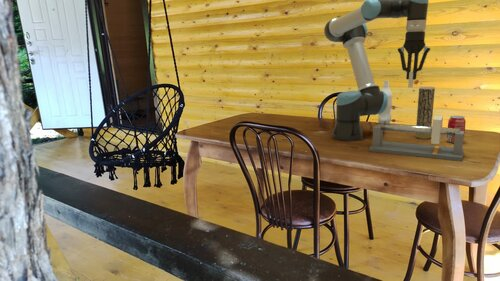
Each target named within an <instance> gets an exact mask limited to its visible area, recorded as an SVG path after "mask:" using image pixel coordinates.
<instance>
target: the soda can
mask: <svg viewBox="0 0 500 281" xmlns="http://www.w3.org/2000/svg"><path fill="white" fill-rule="evenodd" d="M447 128H457V129H460V131H464V134H466V133H465V132H466V131H465V130H466V119H465V116H463V115H451V116H450V118H449V119H448V123H447ZM464 139H465V137H464V138H463V141H464ZM454 140H455V136H452V135H446V141H448V143H451V144H452V143H453V144H454Z"/></svg>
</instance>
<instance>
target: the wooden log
mask: <svg viewBox="0 0 500 281" xmlns="http://www.w3.org/2000/svg"><path fill="white" fill-rule="evenodd" d="M435 90H436V88H435V86H419V87H418V97H417V98H418V99H417V111H416V113H417V114H416V123H415V124H416V125H415V126H427V127H432V124H433V116H434V115H433V113H434V102H435V101H434V100H435ZM431 136H432V134H426V133H415V138H416V139H420V140H421V139H422V140H427V139H430V138H431Z"/></svg>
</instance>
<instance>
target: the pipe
mask: <svg viewBox="0 0 500 281" xmlns="http://www.w3.org/2000/svg"><path fill="white" fill-rule="evenodd" d="M377 125H378V127H381V130H383V131H390V132H400V133H401V132H403V133H415V134H416V133H426V134H431V135H432V126H431V127H427V126H416V125H411V124H395V123H389V124H386V123H384V124H383V123H379V122H378V123H377ZM455 133H460V129H457V128H448V127H443V126H442V127H441V131H440V135H441V136H447V135H452V136H455Z"/></svg>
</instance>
